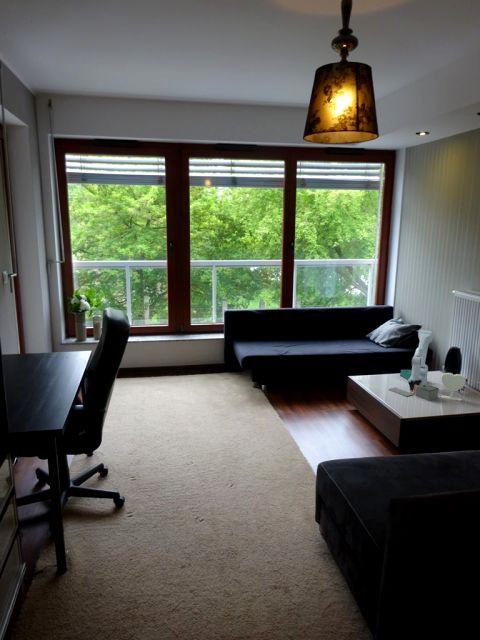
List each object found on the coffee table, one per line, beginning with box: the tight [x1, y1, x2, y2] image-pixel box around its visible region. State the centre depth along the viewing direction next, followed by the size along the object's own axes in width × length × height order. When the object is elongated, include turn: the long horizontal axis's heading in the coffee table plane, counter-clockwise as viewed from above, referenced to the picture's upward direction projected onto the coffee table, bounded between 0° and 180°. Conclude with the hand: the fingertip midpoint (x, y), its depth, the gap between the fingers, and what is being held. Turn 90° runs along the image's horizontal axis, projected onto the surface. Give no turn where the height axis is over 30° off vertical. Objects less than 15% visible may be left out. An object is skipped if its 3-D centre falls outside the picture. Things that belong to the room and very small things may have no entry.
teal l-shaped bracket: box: [399, 369, 428, 382], centre depth 366 cm, size 18×11×10 cm, turn 17°
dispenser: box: [415, 383, 439, 401], centre depth 327 cm, size 11×11×8 cm
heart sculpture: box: [440, 372, 466, 401], centre depth 326 cm, size 16×5×18 cm, turn 64°
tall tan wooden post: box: [409, 385, 418, 394], centre depth 333 cm, size 2×12×6 cm, turn 34°
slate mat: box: [388, 387, 414, 398], centre depth 335 cm, size 8×16×1 cm, turn 34°
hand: (413, 389), depth 336 cm, fingers open, 5 cm apart
